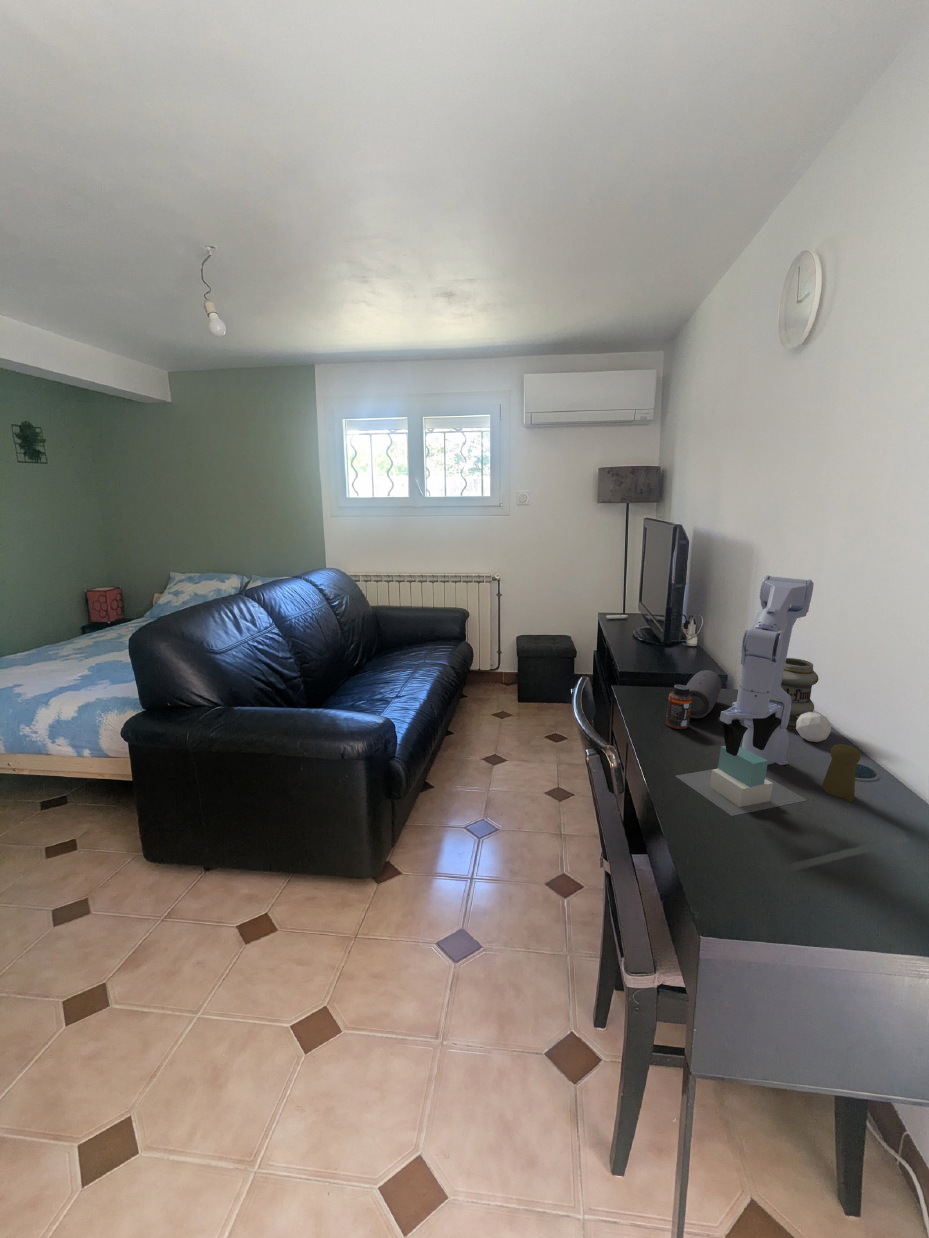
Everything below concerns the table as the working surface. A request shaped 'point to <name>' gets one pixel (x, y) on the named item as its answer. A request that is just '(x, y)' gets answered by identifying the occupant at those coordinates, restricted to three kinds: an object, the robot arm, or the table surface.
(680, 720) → the supplement bottle
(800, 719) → the geometric ball
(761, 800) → the base brick
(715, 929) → the table surface
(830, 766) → the cork
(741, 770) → the top brick
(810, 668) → the apothecary jar
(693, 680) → the bluetooth speaker
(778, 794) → the baseplate
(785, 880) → the table surface
